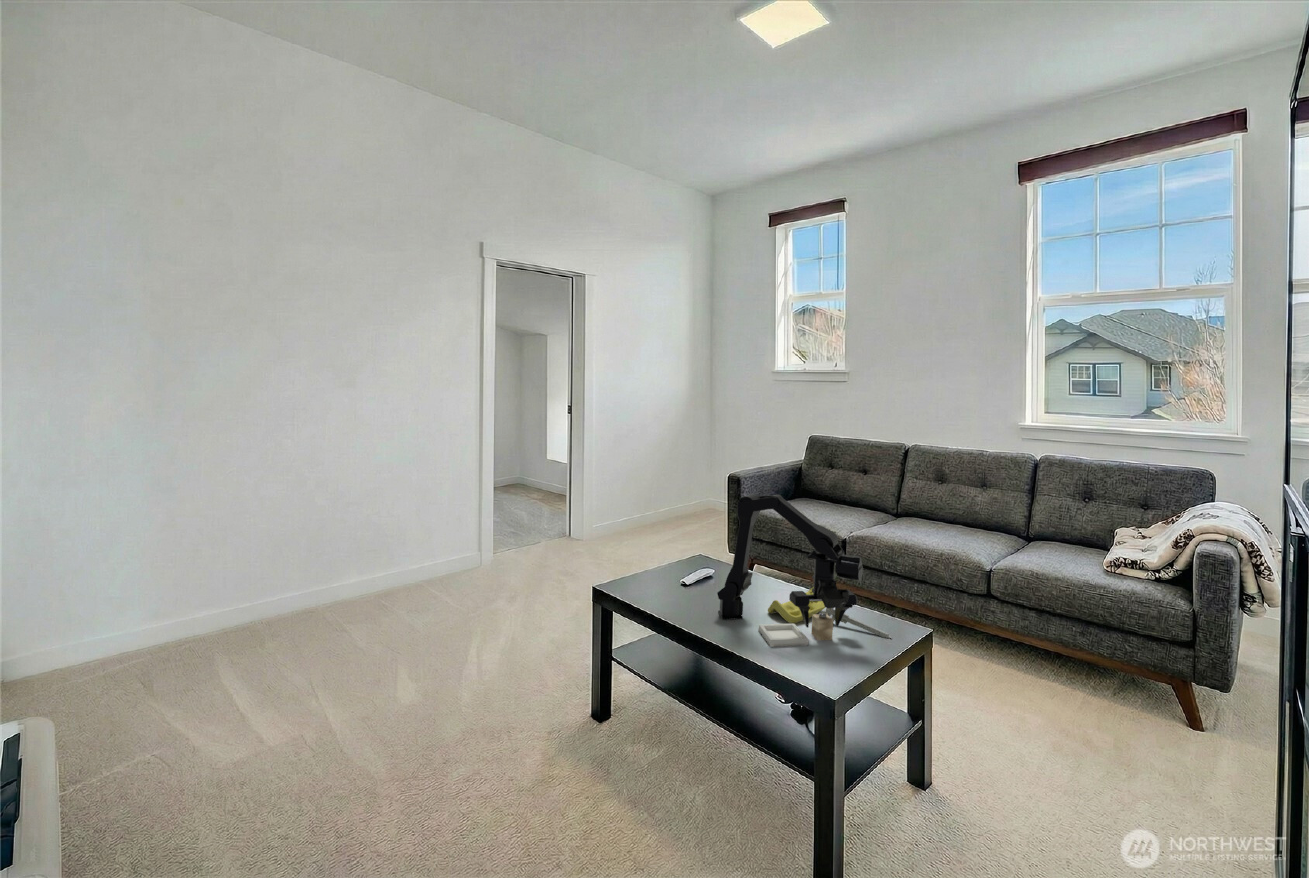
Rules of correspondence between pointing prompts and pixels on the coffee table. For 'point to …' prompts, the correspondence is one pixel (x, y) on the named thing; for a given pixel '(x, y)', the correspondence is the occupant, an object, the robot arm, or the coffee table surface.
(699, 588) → the coffee table surface
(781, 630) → the housing tray
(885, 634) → the caliper
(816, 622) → the block
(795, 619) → the plastic component
